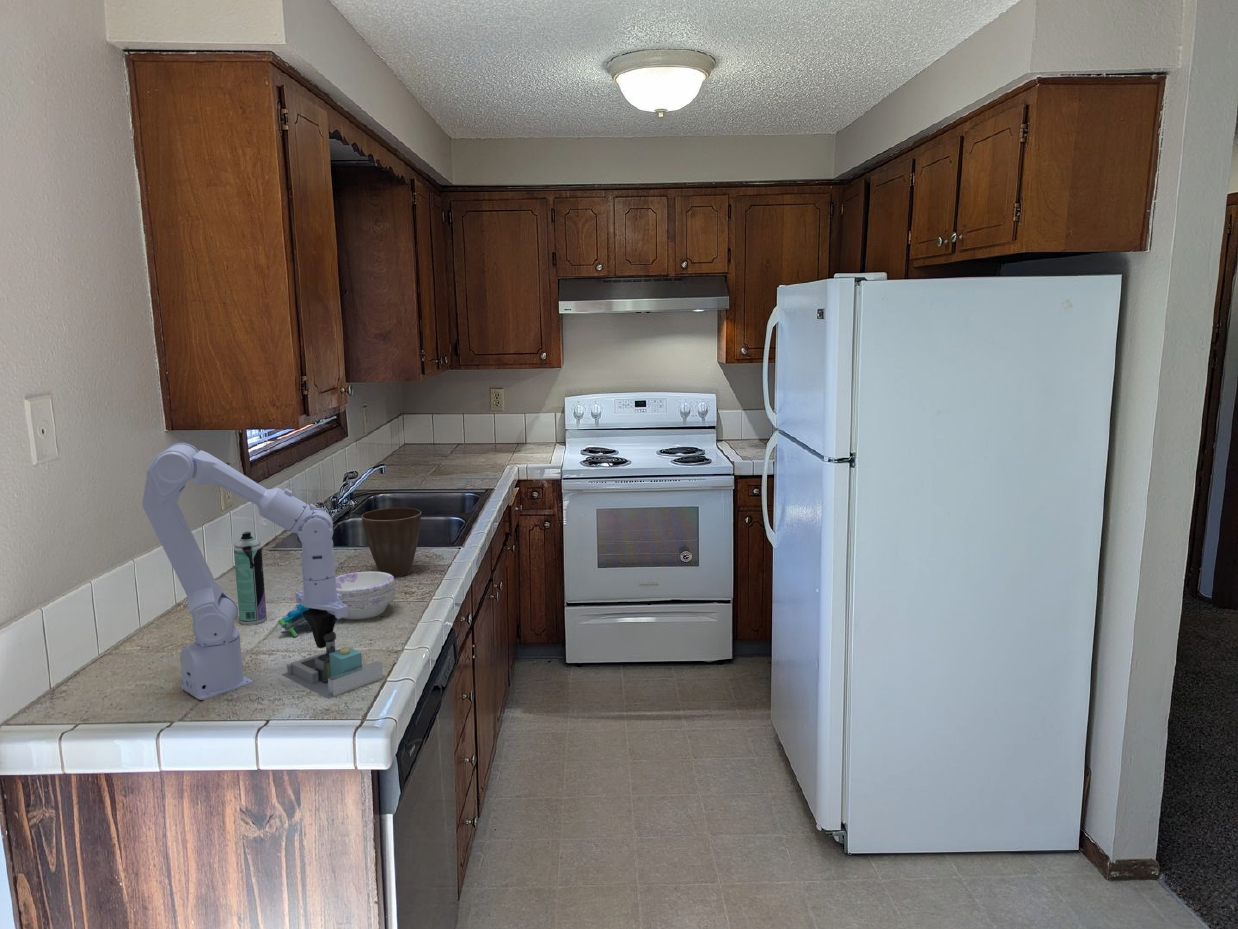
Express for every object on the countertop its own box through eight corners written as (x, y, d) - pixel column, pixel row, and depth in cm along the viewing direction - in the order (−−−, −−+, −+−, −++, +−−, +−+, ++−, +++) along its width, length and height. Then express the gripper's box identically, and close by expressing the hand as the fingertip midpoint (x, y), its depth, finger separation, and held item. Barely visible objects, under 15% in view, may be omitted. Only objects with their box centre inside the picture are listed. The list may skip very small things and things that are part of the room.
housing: (343, 688, 150) (341, 655, 149) (331, 682, 153) (329, 649, 152) (362, 681, 153) (361, 648, 152) (350, 675, 156) (348, 643, 155)
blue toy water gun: (310, 610, 187) (326, 586, 181) (326, 631, 186) (343, 607, 180) (267, 632, 178) (283, 607, 172) (284, 654, 177) (300, 630, 171)
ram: (326, 683, 152) (323, 639, 151) (314, 677, 154) (311, 634, 153) (355, 672, 156) (352, 630, 155) (343, 667, 159) (340, 625, 158)
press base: (328, 700, 146) (327, 682, 146) (281, 676, 156) (280, 659, 156) (387, 678, 155) (386, 661, 155) (339, 656, 165) (338, 640, 165)
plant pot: (363, 584, 211) (359, 521, 208) (366, 567, 225) (363, 509, 223) (424, 579, 214) (421, 518, 212) (423, 563, 229) (421, 506, 226)
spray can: (271, 620, 185) (264, 532, 182) (246, 627, 181) (239, 536, 178) (260, 614, 189) (253, 528, 186) (235, 621, 185) (228, 532, 182)
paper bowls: (347, 600, 199) (345, 568, 197) (407, 604, 196) (406, 571, 194) (311, 622, 184) (309, 587, 183) (376, 627, 181) (374, 592, 180)
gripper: (360, 578, 153) (364, 649, 155) (317, 564, 162) (322, 631, 164) (325, 587, 148) (330, 661, 150) (283, 572, 157) (288, 641, 159)
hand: (323, 646), depth 157 cm, fingers closed
